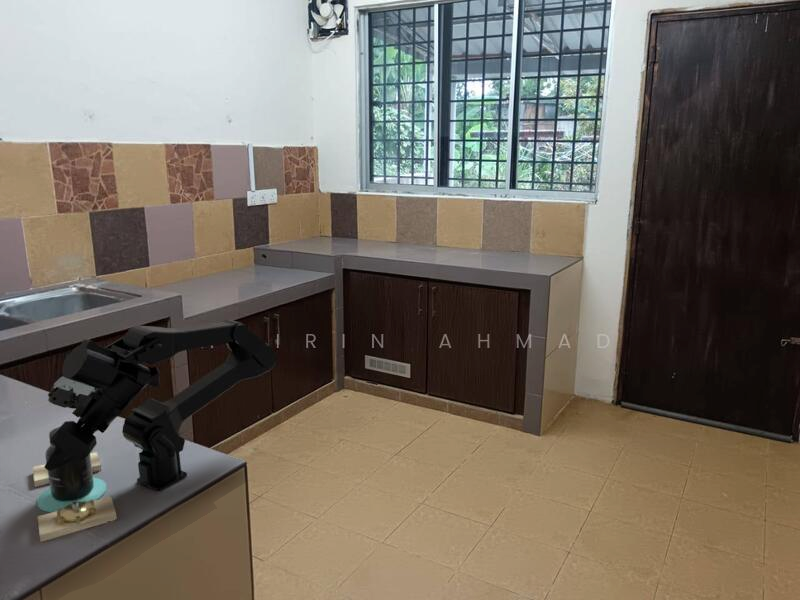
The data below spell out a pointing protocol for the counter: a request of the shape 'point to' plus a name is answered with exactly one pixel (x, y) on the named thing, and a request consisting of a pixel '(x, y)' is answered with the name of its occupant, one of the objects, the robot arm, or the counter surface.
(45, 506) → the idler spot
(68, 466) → the supplement bottle
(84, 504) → the brass gears
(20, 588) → the counter surface
